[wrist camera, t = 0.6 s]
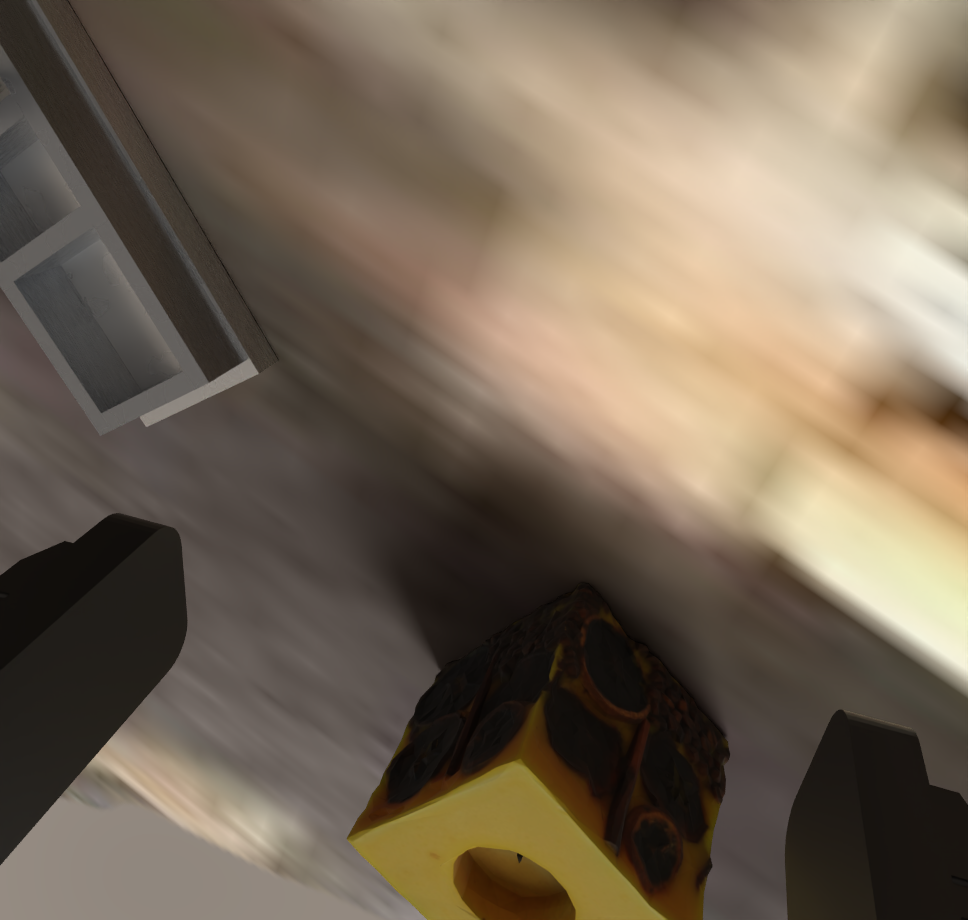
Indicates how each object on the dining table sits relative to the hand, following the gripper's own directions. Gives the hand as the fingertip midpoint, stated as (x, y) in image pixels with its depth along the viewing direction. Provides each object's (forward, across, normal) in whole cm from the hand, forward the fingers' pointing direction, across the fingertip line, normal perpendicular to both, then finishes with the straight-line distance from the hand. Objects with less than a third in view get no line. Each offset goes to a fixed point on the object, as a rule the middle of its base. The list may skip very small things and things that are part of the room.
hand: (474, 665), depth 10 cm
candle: (+22, -1, +21) cm, 30 cm away
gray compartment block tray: (+23, +23, +2) cm, 32 cm away
